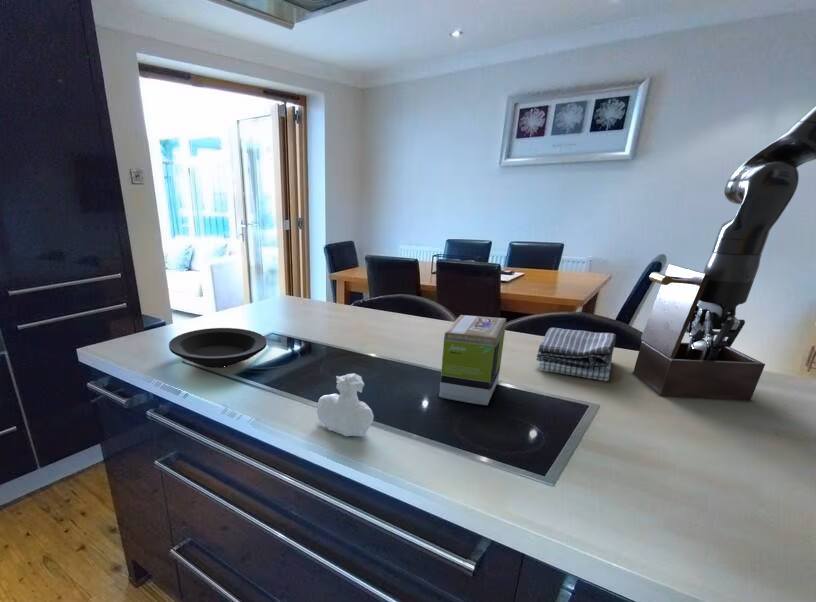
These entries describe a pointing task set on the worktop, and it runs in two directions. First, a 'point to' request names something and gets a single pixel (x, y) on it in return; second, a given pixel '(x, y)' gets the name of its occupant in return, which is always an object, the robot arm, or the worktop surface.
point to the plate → (217, 346)
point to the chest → (699, 373)
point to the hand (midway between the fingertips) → (699, 359)
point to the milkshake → (697, 350)
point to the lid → (673, 307)
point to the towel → (577, 353)
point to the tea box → (472, 359)
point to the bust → (345, 408)
